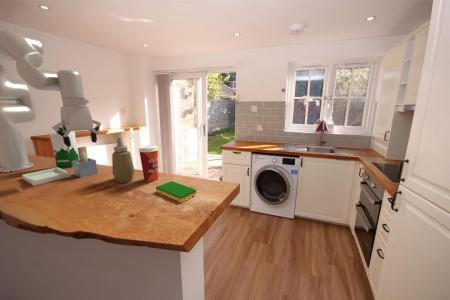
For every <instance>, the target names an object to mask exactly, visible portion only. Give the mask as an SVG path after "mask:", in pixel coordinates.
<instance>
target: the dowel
mask: <svg viewBox="0 0 450 300" xmlns="http://www.w3.org/2000/svg"><path fill="white" fill-rule="evenodd" d="M77 150H78V156H79V160H80V163H82V162H87V161H88V158H89V157H88V152H87V151H88V150H87V147H86V146H80V147H77Z"/></svg>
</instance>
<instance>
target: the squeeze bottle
mask: <svg viewBox="0 0 450 300" xmlns="http://www.w3.org/2000/svg"><path fill="white" fill-rule="evenodd" d="M113 150H114V152H113V153H112V154H111V157H112V158H111V159H112V162H111V163H112V176H113V177H114V180H115V181H116V183H118V184H123V183H124V184H125V183H129V182H131V181H133V178H134V175H135V166H134V163H133V159H132V158H133V157H132V154H131V152H130V151H129V150H128V146H127V145H125V144H124V142H123V139H122V137H117V141H116V146H114V147H113Z"/></svg>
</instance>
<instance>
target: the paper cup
mask: <svg viewBox="0 0 450 300" xmlns="http://www.w3.org/2000/svg"><path fill="white" fill-rule="evenodd" d="M138 152H139V157H140V164H141V169H142V175H143V179H144V180H143V181H144V182H146V181H147V182H148V183H151V182H150V181H152V182H156V181H158V180H159V147H158V145H154V144H150V145H142V146H140V147H139V148H138ZM155 180H156V181H155Z"/></svg>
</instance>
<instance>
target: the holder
mask: <svg viewBox="0 0 450 300" xmlns="http://www.w3.org/2000/svg"><path fill="white" fill-rule="evenodd" d="M72 165H73V167H72V169H73V174H74V176H75V177H78V178H79V179H82V178H85V177H86V178H87V177H90V176H93V175H97V174H98V173H99V172H98V171H99V170H98V166H97V161H96V159H94V158H90V157H88V161H87V162H82V163H80V160H76V161H72Z"/></svg>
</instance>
